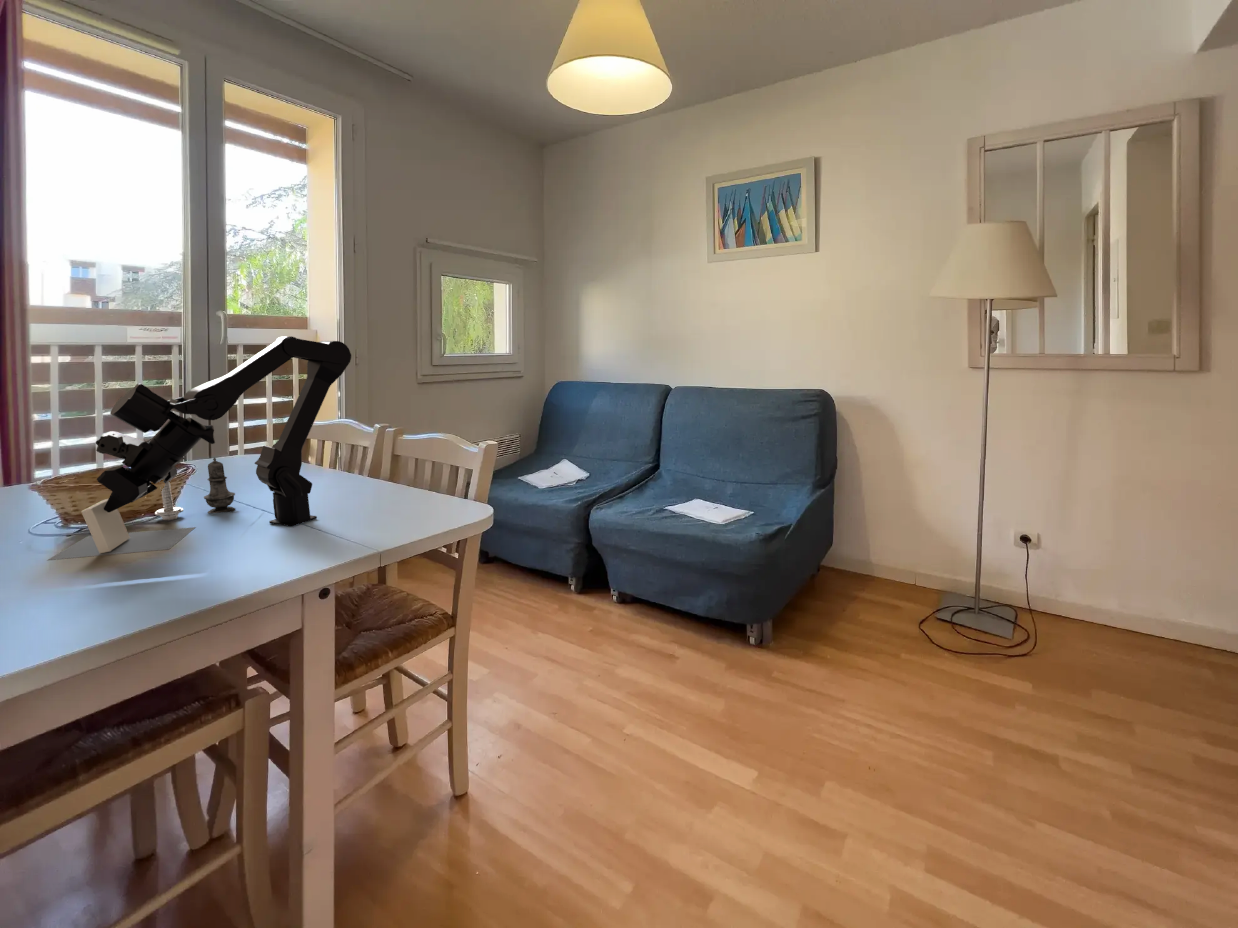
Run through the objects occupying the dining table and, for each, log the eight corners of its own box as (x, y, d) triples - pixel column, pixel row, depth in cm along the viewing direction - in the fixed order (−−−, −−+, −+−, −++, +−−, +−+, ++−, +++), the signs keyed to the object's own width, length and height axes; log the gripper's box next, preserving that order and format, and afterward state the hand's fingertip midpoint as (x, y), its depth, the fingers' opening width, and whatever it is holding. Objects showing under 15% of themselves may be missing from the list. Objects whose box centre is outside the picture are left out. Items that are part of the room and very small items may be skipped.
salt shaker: (226, 514, 137) (219, 460, 135) (199, 515, 138) (191, 460, 135) (242, 507, 143) (236, 454, 141) (217, 507, 143) (209, 455, 141)
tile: (130, 537, 119) (113, 497, 117) (110, 551, 112) (91, 508, 110) (120, 540, 119) (103, 499, 117) (99, 553, 112) (80, 511, 110)
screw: (153, 525, 130) (159, 519, 135) (181, 522, 132) (186, 516, 137) (143, 462, 128) (149, 458, 132) (172, 460, 130) (177, 456, 134)
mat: (196, 529, 127) (195, 527, 127) (169, 551, 114) (169, 549, 114) (88, 538, 122) (87, 535, 122) (47, 562, 109) (46, 560, 109)
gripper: (148, 410, 121) (89, 471, 120) (102, 422, 103) (32, 493, 103) (201, 448, 125) (144, 508, 124) (165, 466, 107) (98, 536, 106)
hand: (106, 510), depth 114 cm, fingers closed
